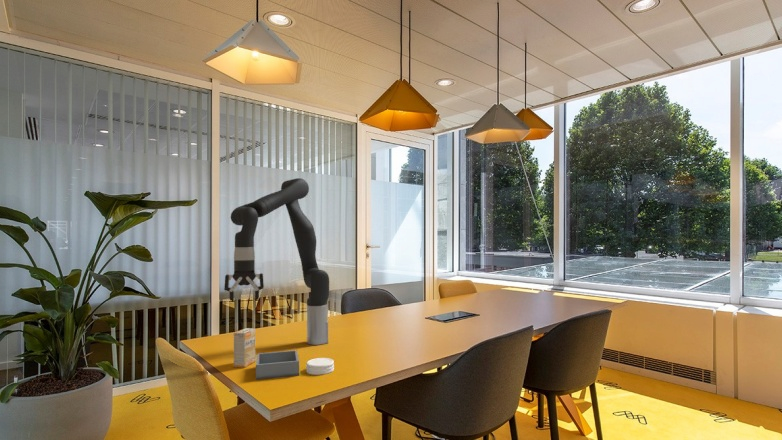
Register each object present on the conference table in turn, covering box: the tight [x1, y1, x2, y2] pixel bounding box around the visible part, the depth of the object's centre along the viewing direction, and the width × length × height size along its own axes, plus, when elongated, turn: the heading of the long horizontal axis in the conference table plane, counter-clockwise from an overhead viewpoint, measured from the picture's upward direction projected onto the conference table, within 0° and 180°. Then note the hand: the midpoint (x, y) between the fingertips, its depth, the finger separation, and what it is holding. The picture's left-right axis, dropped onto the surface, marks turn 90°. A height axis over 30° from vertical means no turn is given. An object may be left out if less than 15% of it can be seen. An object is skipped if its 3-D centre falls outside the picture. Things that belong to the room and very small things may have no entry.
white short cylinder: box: [305, 357, 335, 376], centre depth 158 cm, size 10×10×4 cm
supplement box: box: [233, 327, 256, 369], centre depth 167 cm, size 8×5×13 cm, turn 168°
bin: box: [255, 349, 300, 381], centre depth 158 cm, size 15×15×5 cm
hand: (244, 301), depth 167 cm, fingers open, 8 cm apart
